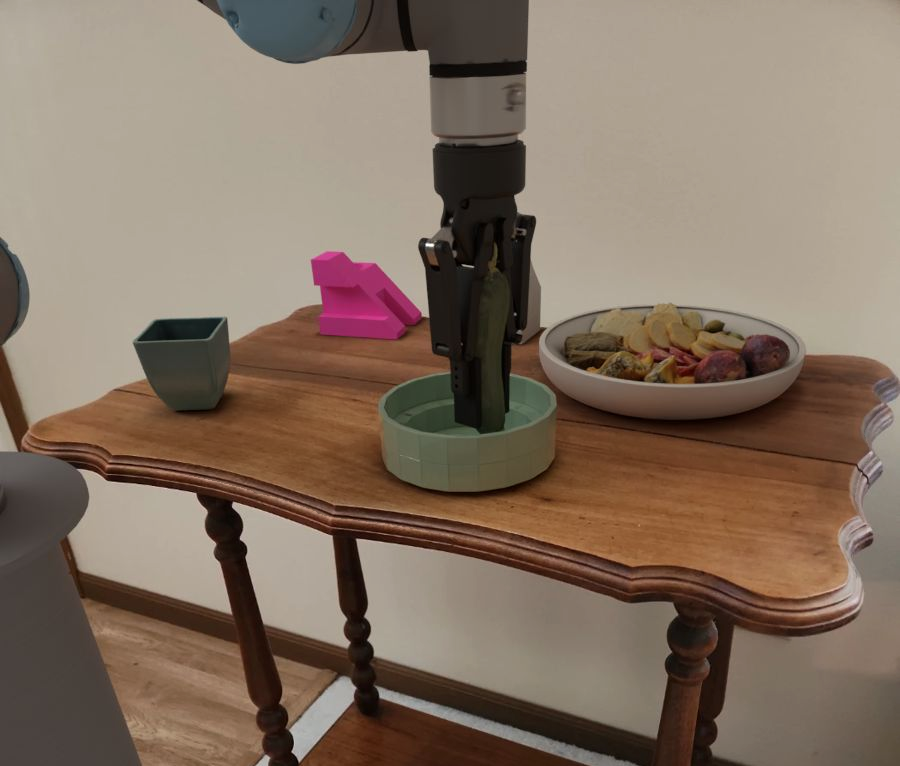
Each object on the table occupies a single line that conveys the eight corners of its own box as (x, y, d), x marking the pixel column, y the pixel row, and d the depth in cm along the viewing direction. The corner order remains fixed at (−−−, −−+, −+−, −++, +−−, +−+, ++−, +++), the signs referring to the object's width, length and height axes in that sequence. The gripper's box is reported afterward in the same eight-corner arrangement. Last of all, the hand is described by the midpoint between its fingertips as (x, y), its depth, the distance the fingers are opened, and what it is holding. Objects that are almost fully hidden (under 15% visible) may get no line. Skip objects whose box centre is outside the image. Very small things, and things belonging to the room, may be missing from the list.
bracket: (320, 334, 118) (310, 259, 112) (349, 314, 126) (341, 243, 120) (396, 339, 114) (391, 262, 108) (421, 318, 122) (417, 245, 116)
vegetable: (478, 453, 77) (480, 224, 66) (451, 439, 80) (449, 218, 69) (514, 442, 79) (522, 219, 68) (486, 429, 82) (490, 213, 71)
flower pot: (226, 416, 93) (210, 338, 88) (151, 419, 93) (130, 341, 88) (242, 389, 101) (228, 315, 95) (172, 391, 101) (154, 318, 96)
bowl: (487, 388, 97) (486, 322, 93) (630, 328, 114) (635, 270, 110) (710, 457, 80) (723, 379, 75) (841, 374, 97) (858, 306, 92)
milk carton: (540, 330, 115) (541, 255, 110) (521, 344, 110) (522, 267, 105) (516, 327, 117) (516, 254, 111) (496, 341, 112) (496, 265, 106)
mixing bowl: (348, 466, 81) (341, 409, 78) (456, 412, 92) (455, 359, 88) (483, 515, 72) (482, 453, 68) (587, 448, 82) (590, 392, 79)
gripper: (447, 154, 57) (457, 457, 71) (576, 129, 68) (563, 398, 81) (372, 149, 61) (394, 436, 75) (504, 127, 72) (503, 383, 85)
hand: (482, 416), depth 78 cm, fingers closed on vegetable, 4 cm apart
